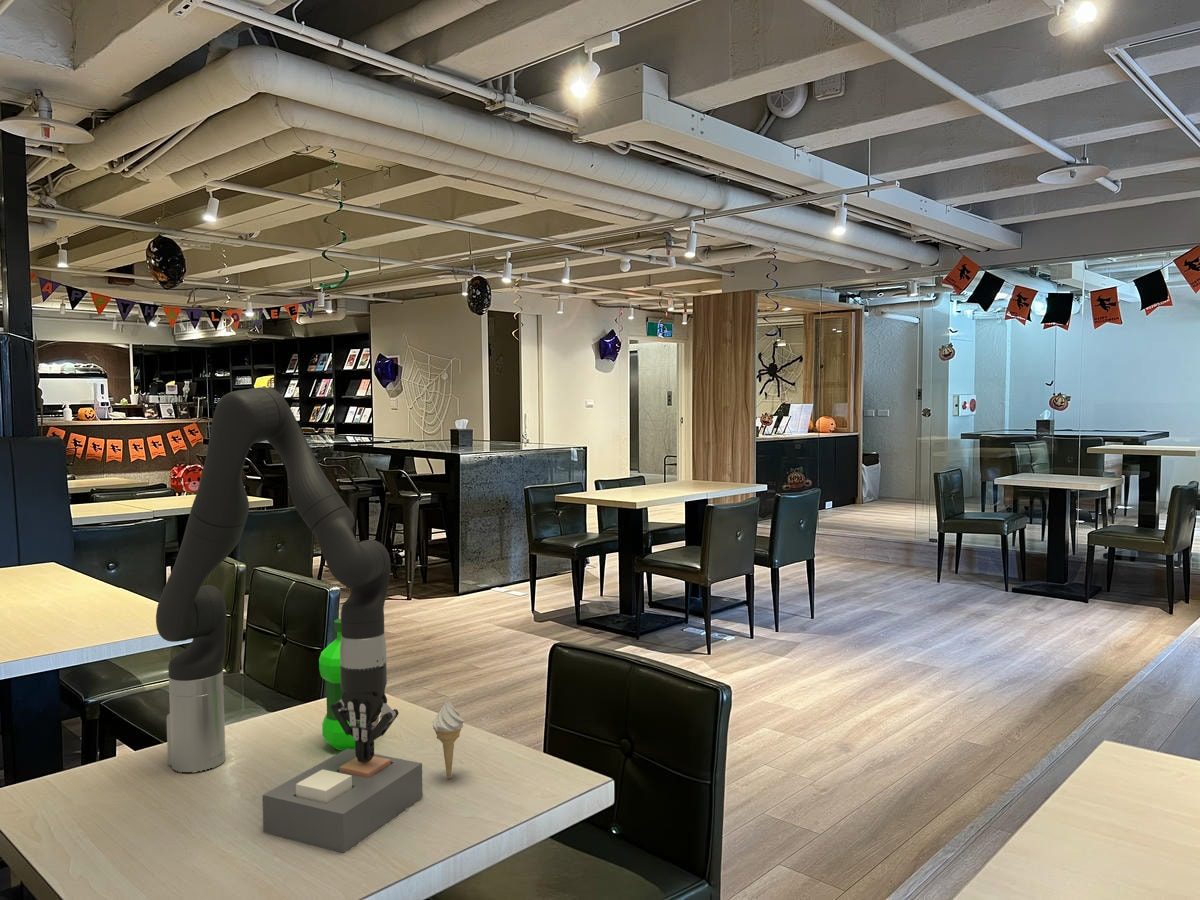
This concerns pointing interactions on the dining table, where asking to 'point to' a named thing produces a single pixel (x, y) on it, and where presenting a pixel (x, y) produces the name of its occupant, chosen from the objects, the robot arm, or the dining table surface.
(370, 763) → the terracotta key
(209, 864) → the dining table surface
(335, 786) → the white key
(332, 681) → the plastic bottle
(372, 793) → the block
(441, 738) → the ice cream cone
